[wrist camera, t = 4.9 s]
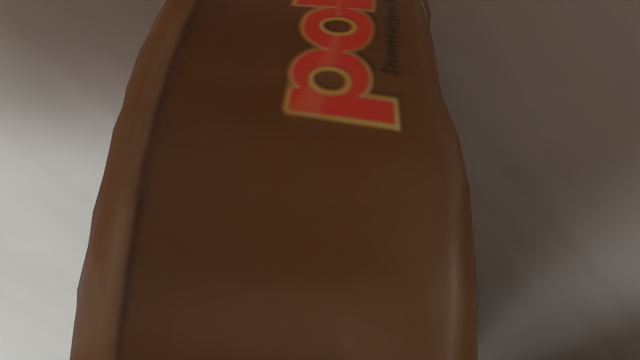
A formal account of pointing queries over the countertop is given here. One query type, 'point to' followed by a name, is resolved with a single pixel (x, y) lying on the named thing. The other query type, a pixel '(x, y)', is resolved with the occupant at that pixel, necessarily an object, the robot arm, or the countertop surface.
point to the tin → (282, 192)
